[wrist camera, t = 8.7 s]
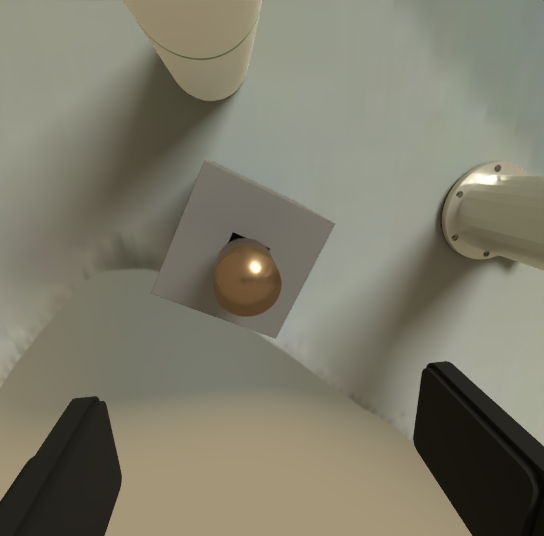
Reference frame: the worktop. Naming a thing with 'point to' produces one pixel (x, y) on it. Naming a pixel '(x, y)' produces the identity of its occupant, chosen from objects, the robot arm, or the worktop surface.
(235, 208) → the grey box
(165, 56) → the container
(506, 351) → the worktop surface
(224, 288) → the plunger
